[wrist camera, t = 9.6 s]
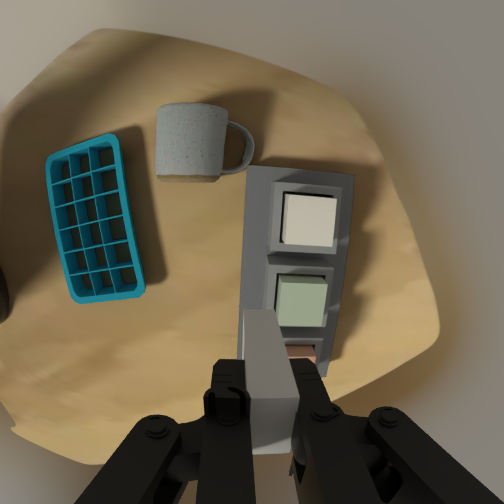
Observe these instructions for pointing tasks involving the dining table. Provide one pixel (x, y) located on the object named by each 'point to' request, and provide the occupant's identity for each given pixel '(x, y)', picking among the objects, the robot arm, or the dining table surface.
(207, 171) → the ceramic mug
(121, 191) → the ice cube tray
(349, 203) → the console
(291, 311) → the sage key
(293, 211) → the ivory key
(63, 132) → the dining table surface
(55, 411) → the dining table surface
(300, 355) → the terracotta key
